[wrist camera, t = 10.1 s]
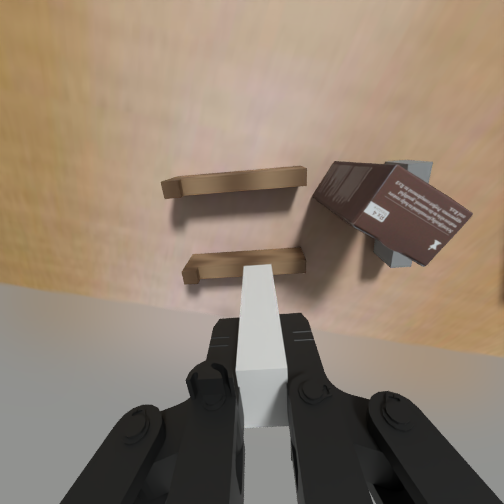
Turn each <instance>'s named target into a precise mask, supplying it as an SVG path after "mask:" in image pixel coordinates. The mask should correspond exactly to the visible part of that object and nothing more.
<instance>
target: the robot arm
mask: <svg viewBox="0 0 504 504" xmlns="http://www.w3.org/2000/svg"><path fill="white" fill-rule="evenodd" d="M186 384H187V387H188V390H189V394H190V398H189V399H188V400H186V401H185V402H183V403H180V404H178V405H176V406H174V407H171V408H168V409H165V410H163V411H159V409H158V408H157V407H155V406H153V405H141V406H138V407H136V408H133V409H132V410H130V411H129V412H128V413H126V414H125V415H124V416H123V417H122V418H121V419H120V420H119V421H118V422H117V424H116V425H115V426H114V427H113V429H112V430H111V432H110V433H109V435H108V436H107V437H106V439H105V440H104V442H103V443H102V445H101V446H100V447H99V449H98V450H97V451H96V453H95V454H94V456H93V457H92V459H91V460H90V461H89V463H88V464H87V466H86V467H85V468H84V470H83V471H82V473H81V474H80V476H79V477H78V478H77V480H76V481H75V483H74V484H73V486H72V487H71V488H70V490H69V491H68V493H67V494H66V495H65V497H64V498H63V500H62V501H61V503H60V504H243V502H244V465H245V446H244V439H243V434H244V427H245V428H254V427H274V426H289V429H290V437H291V460H293V468H294V476H295V485H296V493H297V501H298V504H373V502H372V499H371V496H370V493H371V495H372V497H373V499H374V501H375V503H376V504H503V503H502V501H501V500H500V499H499V498H498V497H497V496H496V495H495V494H494V492H493V491H492V490H491V489H490V488H489V487H488V486H487V485H486V484H485V482H484V481H483V480H482V479H481V478H480V477H479V475H478V474H477V473H476V472H475V471H474V470H473V469H472V468H471V467H470V465H469V464H468V463H467V462H466V461H465V460H464V459H463V457H462V456H461V455H460V454H459V453H458V452H457V451H456V450H455V449H454V447H453V446H452V445H451V444H450V443H449V442H448V441H447V439H446V438H445V437H444V436H443V435H442V434H441V433H440V432H439V431H438V429H437V428H436V427H435V426H434V425H433V424H432V423H431V421H430V420H429V419H428V418H427V417H426V416H425V415H424V414H423V413H422V411H421V410H420V409H419V408H418V407H417V406H416V405H415V404H413V403H412V402H411V401H410V400H409V399H407V398H405V397H403V396H401V395H400V394H397V393H393V392H389V391H383V392H378V393H376V394H374V395H373V396H372V397H371V399H370V400H369V399H366V398H362V397H358V396H354V395H351V394H348V393H345V392H343V391H341V390H339V389H338V388H336V387H335V386H334V385H333V384H332V383H331V382H330V381H329V380H328V378H327V376H326V374H325V372H324V369H323V366H322V363H321V360H320V356H319V353H318V350H317V347H316V344H315V341H314V338H313V335H312V332H311V328H310V325H309V322H308V320H307V319H306V318H305V317H304V316H303V315H302V314H301V313H291V314H279V311H278V305H277V298H276V292H275V285H274V279H273V272H272V266H271V264H266V265H252V266H244V270H243V283H242V295H241V308H240V318H226V319H219V321H218V322H217V323H216V325H215V326H214V328H213V331H212V336H211V341H210V346H209V350H208V354H207V359H206V361H204V362H202V363H200V364H198V365H197V366H195V367H194V368H193V369H192V370H191V371H190V372H189V374H188V377H187V378H186ZM368 489H369V490H368ZM369 491H370V493H369Z"/></svg>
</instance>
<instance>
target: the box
mask: <svg viewBox="0 0 504 504" xmlns="http://www.w3.org/2000/svg"><path fill="white" fill-rule="evenodd" d="M313 198H315V199H316V200H317V201H319V202H320V203H321V204H323V205H324V206H325V207H327V208H328V209H329V210H331V211H332V212H334V213H335V214H336V215H338V216H339V217H340V218H341V219H342V220H344V221H345V222H347V223H348V224H349V225H351V226H352V227H354V228H356V229H358V230H360V231H361V232H363V233H365V234H367V235H369V236H370V237H372V238H374V239H376V240H378V241H379V242H381V243H382V244H383V245H384V246H386V247H387V248H389V249H391V250H393V251H395V252H398V253H400V254H402V255H404V256H405V257H407V258H409V259H410V260H412V261H414V262H416V263H417V264H419V265H421V266H423V267H425V266H426V265H427V264H428V263H429V262H430V261H431V260H432V259H433V258H434V257H435V256H436V254H437V253H438V252H439V251H440V250H441V249H442V248H443V247H444V246H445V245H446V244H447V243H448V242H449V240H450V239H451V238H452V237H453V236H454V235H455V234H456V233H457V232H458V231H459V230H460V229H461V228H462V226H463V225H464V224H465V223H466V222H467V221H468V220H469V219H470V217H471V216H472V215H473V213H472V212H470V211H469V210H467V209H466V208H464V207H463V206H462V205H460V204H459V203H457V202H456V201H454V200H453V199H452V198H450V197H449V196H447V195H445V194H444V193H442V192H441V191H439V190H437V189H436V188H434V187H433V186H431V185H429V184H428V183H426V182H425V181H423V180H422V179H420V178H419V177H417V176H416V175H414V174H412V173H411V172H409V171H408V170H406V169H404V168H403V167H401V166H400V165H390V164H372V163H356V162H355V163H354V162H339V161H335V162H334V163H333V164H332V166H331V167H330V169H329V170H328V172H327V174H326V175H325V177H324V178H323V180H322V181H321V183H320V185H319V186H318V188H317V189H316V191H315V192H314V194H313Z"/></svg>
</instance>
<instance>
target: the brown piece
mask: <svg viewBox="0 0 504 504" xmlns="http://www.w3.org/2000/svg"><path fill="white" fill-rule="evenodd" d="M161 185H162V190H163V194H164V198H165V199H170V198H181V197H183V196H186V195H198V194H210V193H223V192H235V191H247V190H260V189H272V188H285V187H297V186H307V168H305V167H302V166H293V167H281V168H270V169H258V170H247V171H235V172H224V173H212V174H200V175H189V176H177V177H174V178H171V179H168V180H165V181H162V182H161ZM266 264H271V266H272V272H273V275H278V274H295V273H306V259H305V257H304V254H303V252H302V249H301V247H299V248H284V249H268V250H253V251H237V252H222V253H207V254H193V255H192V257H191V258H190V260H189V261H188V263H187V264H186V266H185V268H184V269H183V271H182V276H183V280H184V285H185V284H198V283H199V281H200V279H208V278H226V277H243V270H244V266H252V265H266Z"/></svg>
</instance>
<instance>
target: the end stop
mask: <svg viewBox="0 0 504 504" xmlns="http://www.w3.org/2000/svg"><path fill="white" fill-rule="evenodd" d="M385 164H390V165H400V166H401V167H403V168H404V169H406V170H408V171H409V172H411V173H412V174H414V175H416V176H417V177H419V178H420V179H422V180H423V181H425V182H426V183H429V178H430V174H431V169H432V164H433V162H427V161H414V160H399V161H387V162H385ZM373 252H374V253H375V254H376V255H377V256H378V257H379V258H380V259H382V260H383V261H384V262H385V263H386V264H387V265H388V266H389V267H390V268H396V267H411V264H412V260H410V259H409V258H407V257H405V256H404V255H402V254H400V253H398V252H395V251H393V250H391V249H389V248H387V247H386V246H384V245H383V244H382V243H381V242H379V241H378V240H376V239H375V244H374V251H373Z"/></svg>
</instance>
